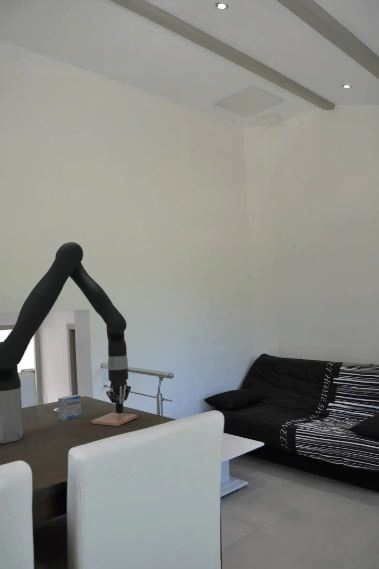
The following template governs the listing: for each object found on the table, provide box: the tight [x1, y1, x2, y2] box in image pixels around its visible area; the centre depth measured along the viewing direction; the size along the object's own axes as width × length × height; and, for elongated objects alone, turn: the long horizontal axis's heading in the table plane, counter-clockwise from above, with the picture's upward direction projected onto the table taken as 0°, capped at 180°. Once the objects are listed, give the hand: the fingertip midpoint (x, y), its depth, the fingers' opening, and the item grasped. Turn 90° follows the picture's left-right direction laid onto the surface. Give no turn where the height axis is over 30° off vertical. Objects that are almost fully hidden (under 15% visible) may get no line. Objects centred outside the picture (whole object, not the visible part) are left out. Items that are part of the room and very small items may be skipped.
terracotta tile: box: [91, 412, 138, 427], centre depth 177 cm, size 1×12×12 cm
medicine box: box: [57, 394, 82, 421], centre depth 187 cm, size 8×4×9 cm, turn 143°
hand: (119, 413), depth 179 cm, fingers closed
